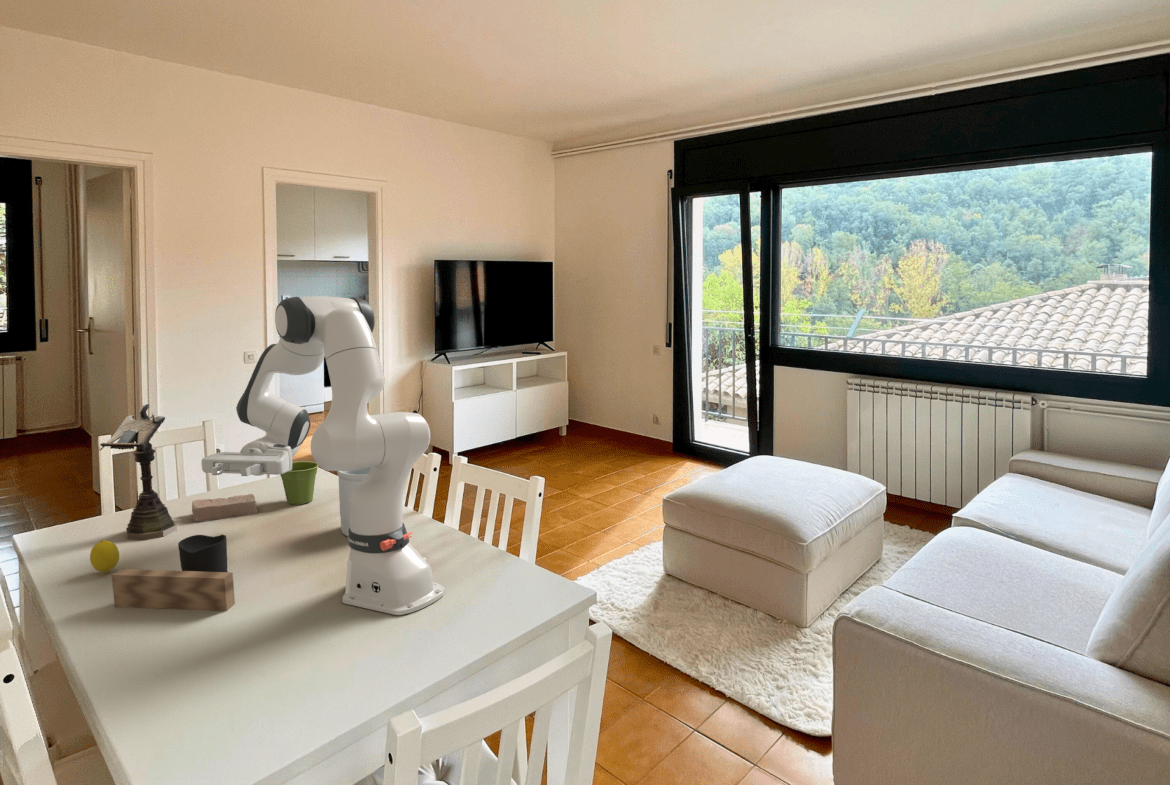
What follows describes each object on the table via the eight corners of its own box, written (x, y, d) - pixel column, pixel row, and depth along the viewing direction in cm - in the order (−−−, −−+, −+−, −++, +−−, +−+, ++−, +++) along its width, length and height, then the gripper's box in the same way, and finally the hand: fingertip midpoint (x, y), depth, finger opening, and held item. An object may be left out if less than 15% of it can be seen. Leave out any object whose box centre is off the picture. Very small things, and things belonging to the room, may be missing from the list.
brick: (255, 506, 209) (253, 491, 208) (258, 514, 202) (257, 498, 201) (192, 515, 201) (191, 500, 200) (193, 524, 194) (192, 508, 193)
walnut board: (235, 603, 146) (232, 572, 145) (227, 610, 143) (224, 578, 142) (124, 600, 147) (121, 568, 146) (114, 606, 144) (111, 574, 143)
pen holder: (218, 570, 163) (215, 529, 161) (237, 581, 157) (233, 539, 155) (175, 583, 156) (171, 541, 154) (192, 596, 150) (188, 552, 148)
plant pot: (324, 504, 211) (322, 468, 209) (281, 510, 205) (279, 473, 203) (317, 493, 221) (315, 459, 219) (277, 499, 215) (274, 463, 213)
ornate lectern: (147, 548, 175) (133, 412, 169) (100, 545, 177) (85, 410, 171) (192, 525, 191) (181, 400, 186) (149, 523, 193) (136, 399, 187)
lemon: (95, 569, 162) (92, 537, 161) (123, 566, 164) (120, 534, 163) (88, 579, 157) (84, 545, 156) (117, 575, 159) (113, 542, 158)
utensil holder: (386, 516, 200) (384, 457, 197) (404, 532, 188) (402, 469, 185) (334, 526, 192) (330, 464, 189) (348, 543, 180) (345, 477, 177)
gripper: (218, 444, 178) (185, 458, 165) (296, 446, 177) (269, 460, 164) (220, 468, 179) (187, 484, 166) (298, 470, 178) (271, 486, 165)
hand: (229, 472), depth 165 cm, fingers open, 6 cm apart
